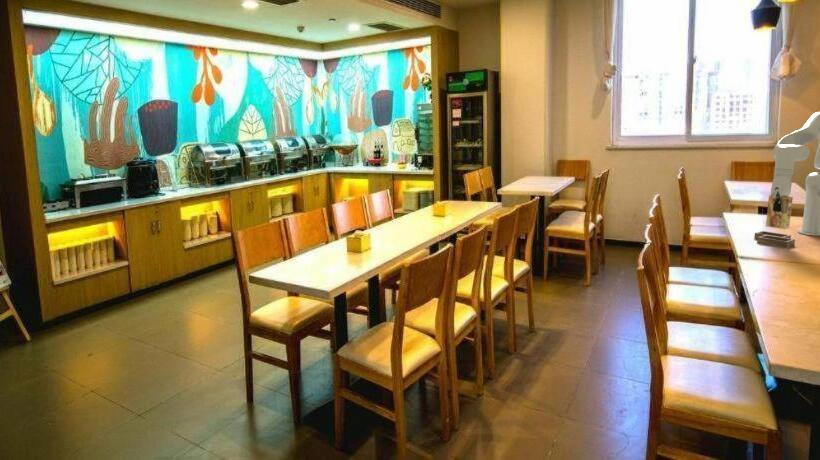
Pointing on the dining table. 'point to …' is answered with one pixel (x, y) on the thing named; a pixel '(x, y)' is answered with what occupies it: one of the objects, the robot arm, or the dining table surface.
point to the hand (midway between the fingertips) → (779, 210)
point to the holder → (774, 239)
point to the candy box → (779, 213)
